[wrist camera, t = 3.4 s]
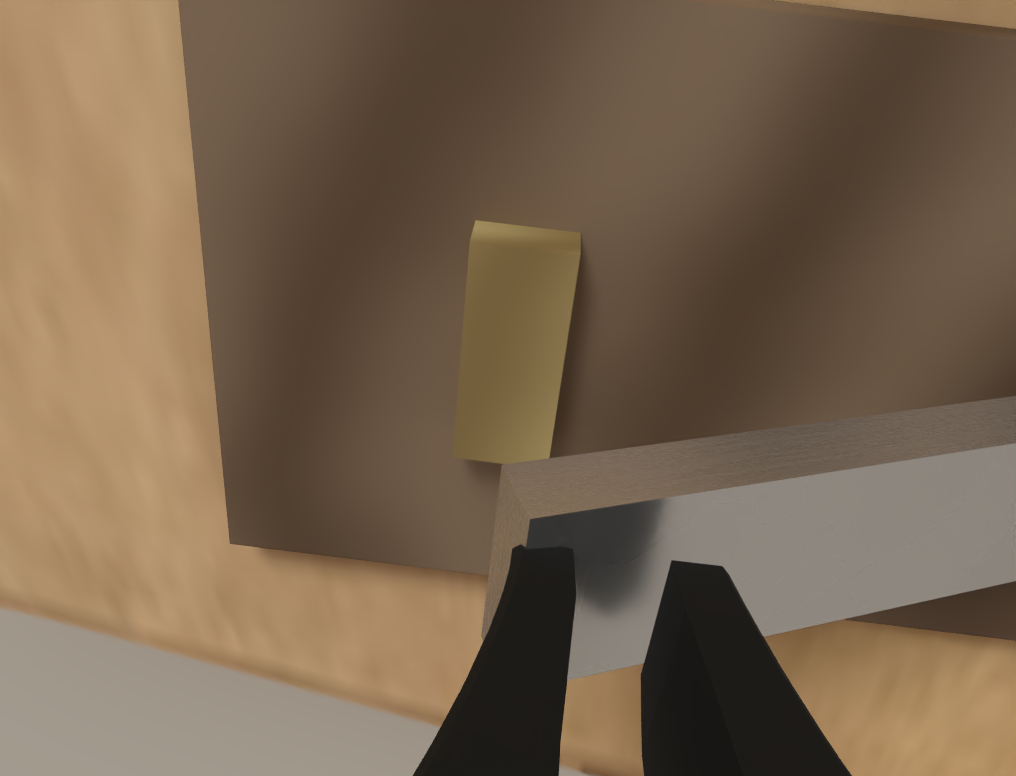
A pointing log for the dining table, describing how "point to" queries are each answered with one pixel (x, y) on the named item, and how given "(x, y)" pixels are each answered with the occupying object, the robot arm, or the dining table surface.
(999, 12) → the dining table surface
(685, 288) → the base board
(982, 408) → the strap
